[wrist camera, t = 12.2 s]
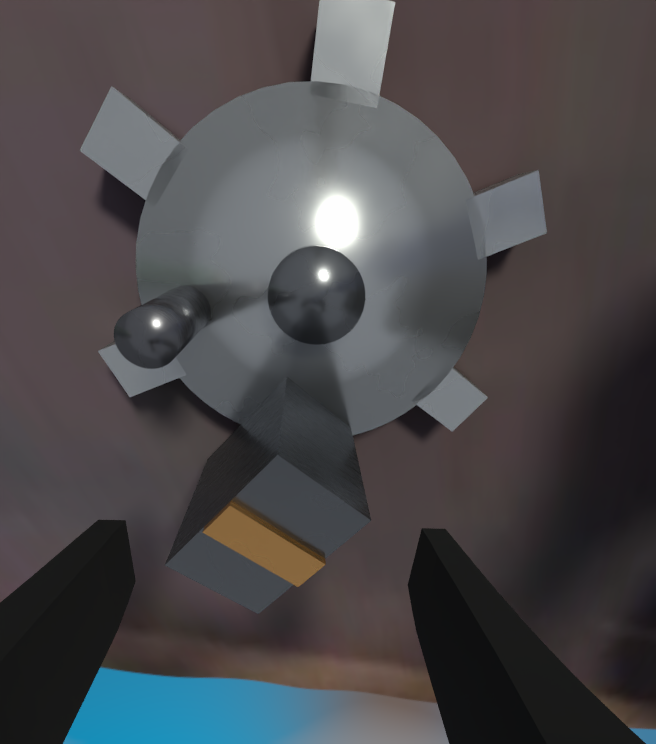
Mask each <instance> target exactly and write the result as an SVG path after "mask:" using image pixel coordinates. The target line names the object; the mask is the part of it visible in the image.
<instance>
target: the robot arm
mask: <svg viewBox="0 0 656 744" xmlns="http://www.w3.org/2000/svg"><path fill="white" fill-rule="evenodd" d="M134 584H135V575H134V569H133V563H132V557H131V551H130V545H129V539H128V533H127V527H126V521H125V520H98V521H97V522H95V523H94V524H93V525H92V526H91V527H89V528H88V529H87V530H86V531H85V532H83V533H82V534H81V535H80V536H79V537H77V538H76V539H75V540H74V541H73V542H72V543H70V544H69V545H68V546H67V547H66V548H65V549H63V550H62V551H61V552H60V553H59V554H58V555H56V556H55V557H54V558H53V559H52V560H51V561H49V562H48V563H47V564H46V565H45V566H44V567H42V568H41V569H40V570H39V571H38V572H37V573H35V574H34V575H33V576H32V577H31V578H29V579H28V580H27V581H26V582H25V583H23V584H22V585H21V586H20V587H19V588H17V589H16V590H15V591H14V592H13V593H11V594H10V595H9V596H8V597H7V598H5V599H4V600H3V601H2V602H1V603H0V744H63V742H64V740H65V738H66V736H67V734H68V732H69V729H70V728H71V726H72V723H73V721H74V719H75V717H76V715H77V713H78V711H79V709H80V707H81V705H82V703H83V701H84V699H85V697H86V695H87V693H88V691H89V689H90V687H91V685H92V682H93V680H94V678H95V676H96V674H97V672H98V670H99V668H100V666H101V664H102V662H103V660H104V658H105V656H106V654H107V651H108V649H109V647H110V645H111V643H112V641H113V639H114V637H115V635H116V633H117V630H118V628H119V625H120V623H121V620H122V617H123V615H124V612H125V609H126V607H127V604H128V601H129V598H130V595H131V593H132V590H133V587H134ZM408 589H409V594H410V600H411V606H412V611H413V616H414V621H415V626H416V631H417V635H418V638H419V642H420V645H421V649H422V652H423V656H424V659H425V663H426V666H427V670H428V673H429V676H430V680H431V683H432V687H433V690H434V693H435V697H436V700H437V704H438V707H439V710H440V714H441V717H442V720H443V724H444V727H445V731H446V734H447V737H448V740H449V744H646V743H645V742H643V741H642V740H641V739H640V738H639V737H638V736H637V735H636V734H635V733H633V731H631V730H630V729H629V728H628V727H627V726H626V725H625V724H624V723H623V722H622V721H621V720H620V719H619V718H618V717H617V716H616V715H615V714H613V713H612V712H611V711H610V710H609V709H608V708H607V707H606V706H605V705H604V704H603V703H602V702H601V701H600V700H599V699H598V698H597V697H596V696H595V695H594V694H593V693H592V692H591V691H590V690H589V689H587V688H586V687H585V686H584V685H583V684H582V683H581V682H580V681H579V680H578V679H577V678H576V677H575V676H574V675H573V674H572V673H571V672H570V671H569V670H568V669H567V667H566V666H565V665H564V664H563V663H562V662H561V661H560V660H559V659H558V658H557V657H556V656H555V655H554V654H553V653H552V652H551V651H550V650H549V649H548V647H547V646H546V645H545V644H544V643H543V642H542V641H541V640H540V639H539V638H538V637H537V636H536V635H535V634H534V632H533V631H532V630H531V629H530V628H529V627H528V626H527V625H526V624H525V623H524V621H523V620H522V619H521V618H520V617H519V616H518V615H517V613H516V612H515V611H514V610H513V609H512V608H511V607H510V605H509V604H508V603H507V602H506V601H505V600H504V599H503V597H502V596H501V595H500V594H499V593H498V592H497V591H496V589H495V588H494V587H493V586H492V585H491V583H490V582H489V581H488V580H487V579H486V577H485V576H484V575H483V574H482V573H481V571H480V570H479V569H478V568H477V567H476V565H475V564H474V563H473V562H472V561H471V559H470V558H469V557H468V556H467V555H466V553H465V552H464V551H463V550H462V548H461V547H460V546H459V545H458V544H457V542H456V541H455V540H454V539H453V538H452V536H451V535H450V534H449V533H448V532H447V530H446V529H425V528H422V530H421V534H420V538H419V542H418V546H417V550H416V554H415V558H414V562H413V566H412V570H411V574H410V578H409V582H408Z"/></svg>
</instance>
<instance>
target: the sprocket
mask: <svg viewBox="0 0 656 744" xmlns="http://www.w3.org/2000/svg"><path fill="white" fill-rule="evenodd" d="M394 6H395V2H393V1H389V0H320V2H319V11H318V20H317V29H316V38H315V47H314V56H313V65H312V74H311V81H309V82H289V83H284V84H279V85H273V86H268V87H263V88H261V89H258V90H255V91H253V92H250V93H247V94H245V95H242V96H239V97H237V98H235V99H233V100H232V101H230V102H228V103H226V104H224V105H223V106H221V107H219V108H217V109H216V110H214V111H213V112H211V113H210V114H209V115H208V116H206V117H205V118H204V119H203V120H201V121H200V122H199V123H198V124H196V125H195V126H194V127H193V128H192V129H191V130H190V131H189V132H188V133H187V134H186V135H185V136H184V137H183V138H182V139H181V140H179V139H178V138H177V137H176V136H175V135H173V134H172V133H171V132H170V131H169V130H167V129H166V128H165V127H164V126H163V125H161V124H160V123H159V122H158V121H156V120H155V119H154V118H153V117H152V116H150V115H149V114H148V113H147V112H146V111H144V110H143V109H142V108H141V107H140V106H138V105H137V104H136V103H135V102H134V101H132V100H131V99H130V98H128V97H127V96H125V95H124V94H123V93H121V92H120V91H118V90H117V89H115V88H114V87H112V86H111V88H110V91H109V93H108V95H107V97H106V99H105V101H104V103H103V105H102V107H101V109H100V111H99V113H98V115H97V117H96V119H95V121H94V123H93V125H92V127H91V129H90V131H89V133H88V135H87V137H86V139H85V141H84V143H83V145H82V147H81V149H80V151H81V152H82V153H84V154H85V155H86V156H88V157H89V158H90V159H92V160H93V161H94V162H96V163H97V164H98V165H100V166H101V167H102V168H104V169H105V170H106V171H108V172H109V173H110V174H112V175H113V176H114V177H116V178H117V179H118V180H120V181H121V182H122V183H123V184H125V185H126V186H127V187H129V188H130V189H131V190H133V191H134V192H135V193H137V194H138V195H139V196H141V197H142V198H143V199H145V200H146V201H145V205H144V208H143V211H142V214H141V218H140V223H139V230H138V236H137V242H136V274H137V283H138V292H139V296H140V300H141V304H142V305H141V306H139V307H137V308H135V309H133V310H131V311H129V312H127V313H125V314H124V315H123V316H122V317H121V318H120V319H119V320H118V321H117V323H116V325H115V329H114V340H115V341H113V342H112V343H110V344H108V345H107V346H105V347H104V348H102V349H101V350H99V351H98V352H99V353H100V355H101V356H102V358H103V359H104V361H105V362H106V364H107V365H108V366H109V368H110V369H111V371H112V372H113V374H114V375H115V377H116V378H117V380H118V381H119V382H120V384H121V385H122V387H123V388H124V390H125V391H126V393H127V394H128V396H129V397H132V396H134V395H137V394H140V393H142V392H145V391H147V390H150V389H152V388H155V387H157V386H160V385H162V384H165V383H167V382H170V381H173V380H175V379H178V378H180V379H181V380H182V381H183V382H184V384H185V385H186V386H187V387H188V388H189V389H190V390H191V391H192V392H193V393H194V394H196V395H197V396H198V397H199V398H200V399H201V400H202V401H203V402H205V403H206V404H207V405H209V406H210V407H212V408H213V409H215V410H216V411H217V412H219V413H220V414H222V415H224V416H225V417H227V418H229V419H231V420H233V421H235V422H237V423H239V424H242V423H243V422H244V421H245V420H246V419H247V418H248V417H249V415H250V414H251V413H252V412H253V411H254V410H255V409H256V408H257V407H258V406H259V405H260V404H261V403H262V402H263V401H264V400H265V399H266V398H267V397H268V395H269V394H270V393H271V392H272V391H273V390H274V389H275V388H276V387H277V386H278V385H279V384H280V383H281V382H282V381H283V380H284V379H285V378H286V377H289V378H290V379H291V380H292V381H294V382H295V383H296V384H297V385H299V386H300V387H301V388H302V389H304V390H305V391H306V392H307V393H309V394H310V395H311V396H312V397H314V398H315V399H316V400H317V401H319V402H320V403H321V404H322V405H324V406H325V407H326V408H327V409H329V410H330V411H331V412H333V413H334V414H335V415H336V416H338V417H339V418H340V419H341V420H343V421H344V422H345V423H346V424H348V425H349V426H350V427H351V431H352V435H356V434H359V433H363V432H366V431H369V430H372V429H374V428H377V427H379V426H381V425H384V424H386V423H389V422H390V421H392V420H394V419H396V418H397V417H399V416H401V415H403V414H404V413H406V412H407V411H409V410H410V409H412V408H413V407H414V406H416V405H418V406H419V407H420V408H422V409H423V410H424V411H426V412H427V413H428V414H429V415H431V416H432V417H433V418H435V419H436V420H437V421H439V422H440V423H441V424H443V425H444V426H445V427H447V428H448V429H449V430H451V431H453V430H454V429H455V428H457V427H458V426H459V425H460V424H461V423H462V422H463V421H464V420H465V419H466V418H467V417H468V416H469V415H470V414H471V413H472V412H473V411H474V410H475V409H476V408H477V407H478V406H479V405H481V404H482V403H483V402H484V401H485V400H486V399H487V398H488V397H487V396H486V395H485V394H484V393H483V392H482V391H481V390H480V389H479V388H478V387H477V386H476V385H474V384H473V383H472V382H471V381H470V380H468V379H467V378H466V377H465V376H464V375H462V374H461V373H460V372H459V371H458V370H456V369H455V368H454V365H455V364H456V362H457V361H458V359H459V358H460V356H461V355H462V353H463V351H464V349H465V347H466V345H467V343H468V341H469V340H470V338H471V335H472V333H473V330H474V327H475V325H476V322H477V320H478V317H479V313H480V309H481V305H482V301H483V297H484V291H485V283H486V275H487V256H489V255H492V254H495V253H497V252H500V251H502V250H505V249H507V248H510V247H512V246H515V245H517V244H520V243H522V242H525V241H527V240H530V239H533V238H535V237H538V236H540V235H543V234H545V233H547V231H546V223H545V216H544V208H543V200H542V193H541V185H540V178H539V170H536V171H532V172H527V173H522V174H518V175H515V176H513V177H510V178H508V179H506V180H503V181H501V182H498V183H496V184H493V185H491V186H489V187H486V188H484V189H481V190H479V191H476V192H474V193H473V191H472V189H471V187H470V184H469V182H468V179H467V178H466V176H465V174H464V173H463V171H462V169H461V168H460V166H459V164H458V163H457V161H456V159H455V158H454V156H453V155H452V154H451V153H450V151H449V150H448V149H447V148H446V146H445V145H444V144H443V143H442V141H441V140H440V139H439V138H438V137H437V136H436V135H435V134H434V133H433V132H432V131H431V130H430V129H429V128H428V127H427V126H426V125H424V124H423V123H422V122H421V121H420V120H419V119H418V118H416V117H415V116H413V115H412V114H410V113H409V112H407V111H406V110H404V109H403V108H401V107H400V106H399V105H397V104H395V103H393V102H391V101H389V100H387V99H385V98H383V97H380V96H379V94H380V88H381V82H382V76H383V70H384V64H385V59H386V53H387V47H388V41H389V35H390V29H391V24H392V18H393V12H394Z"/></svg>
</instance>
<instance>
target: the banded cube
mask: <svg viewBox="0 0 656 744" xmlns="http://www.w3.org/2000/svg"><path fill="white" fill-rule="evenodd" d="M370 521H371V518H370V513H369V509H368V504H367V500H366V495H365V490H364V486H363V481H362V477H361V472H360V467H359V463H358V458H357V454H356V449H355V445H354V440H353V435H352V431H351V427H350V426H349V425H348V424H346V423H345V422H344V421H343V420H341V419H340V418H339V417H338V416H336V415H335V414H334V413H333V412H331V411H330V410H329V409H327V408H326V407H325V406H324V405H322V404H321V403H320V402H319V401H317V400H316V399H315V398H314V397H312V396H311V395H310V394H309V393H307V392H306V391H305V390H304V389H302V388H301V387H300V386H299V385H297V384H296V383H295V382H294V381H292V380H291V379H290V378H289V377H286V378H285V379H284V380H283V381H282V382H281V383H280V384H279V385H278V386H277V387H276V388H275V389H274V390H273V391H272V392H271V393H270V394H269V395H268V397H267V398H266V399H265V400H264V401H263V402H262V403H261V404H260V405H259V406H258V407H257V408H256V409H255V410H254V411H253V412H252V413H251V414H250V415H249V417H248V418H247V419H246V420H245V421H244V422H243V423H242V424H241V425H240V426H239V427H238V428H237V429H236V430H235V431H234V432H233V433H232V434H231V435H230V436H229V438H228V439H227V440H226V441H225V442H224V443H223V444H222V445H221V446H220V447H219V448H218V449H217V450H216V451H215V452H214V453H213V454H212V455H211V456H210V458H209V459H208V460H207V463H206V465H205V468H204V470H203V473H202V475H201V477H200V480H199V482H198V485H197V487H196V490H195V492H194V495H193V497H192V500H191V502H190V505H189V507H188V509H187V512H186V514H185V517H184V519H183V522H182V524H181V527H180V529H179V532H178V534H177V537H176V539H175V542H174V544H173V546H172V549H171V551H170V554H169V556H168V559H167V561H166V564H165V566H167V567H169V568H171V569H173V570H175V571H177V572H179V573H181V574H182V575H184V576H186V577H188V578H190V579H192V580H194V581H196V582H198V583H200V584H202V585H204V586H206V587H207V588H209V589H211V590H213V591H215V592H217V593H219V594H221V595H223V596H225V597H227V598H229V599H231V600H232V601H234V602H236V603H238V604H240V605H242V606H244V607H246V608H248V609H250V610H252V611H254V612H255V613H257V614H259V613H260V612H261V611H263V610H264V609H265V608H266V607H267V606H269V605H270V604H271V603H272V602H273V601H275V600H276V599H277V598H278V597H280V596H281V595H282V594H283V593H284V592H286V591H287V590H288V589H289V588H290V587H292V586H293V585H295V586H297V587H299V586H300V585H301V584H303V583H304V582H305V581H306V580H307V579H309V578H310V577H311V576H312V575H313V574H315V573H316V572H317V571H318V570H320V569H321V568H322V567H323V566H324V565H326V564H325V558H327V557H328V556H329V555H330V554H331V553H333V552H334V551H335V550H336V549H337V548H339V547H340V546H341V545H342V544H343V543H345V542H346V541H347V540H348V539H349V538H351V537H352V536H353V535H354V534H356V533H357V532H358V531H359V530H360V529H362V528H363V527H364V526H365V525H366V524H368V523H369V522H370Z"/></svg>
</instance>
